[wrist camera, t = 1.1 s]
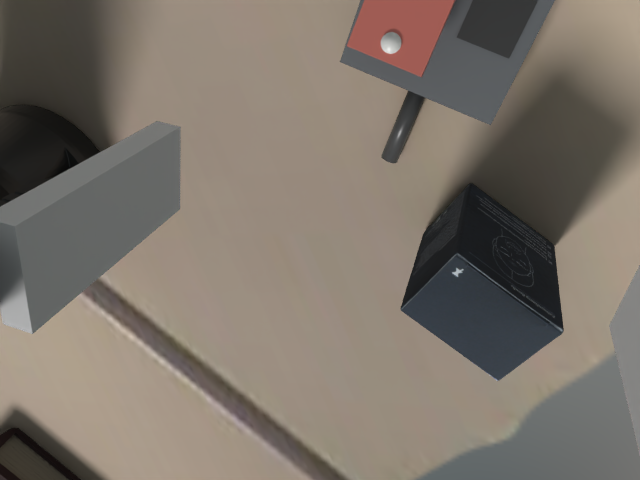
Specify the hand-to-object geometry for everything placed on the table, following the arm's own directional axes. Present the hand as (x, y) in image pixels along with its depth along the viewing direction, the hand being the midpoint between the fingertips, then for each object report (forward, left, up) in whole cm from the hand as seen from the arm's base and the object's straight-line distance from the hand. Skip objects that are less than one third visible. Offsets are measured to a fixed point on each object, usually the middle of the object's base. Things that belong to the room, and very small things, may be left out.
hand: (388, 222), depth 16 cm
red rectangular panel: (-4, +3, -20) cm, 20 cm away
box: (+7, -11, -25) cm, 29 cm away
